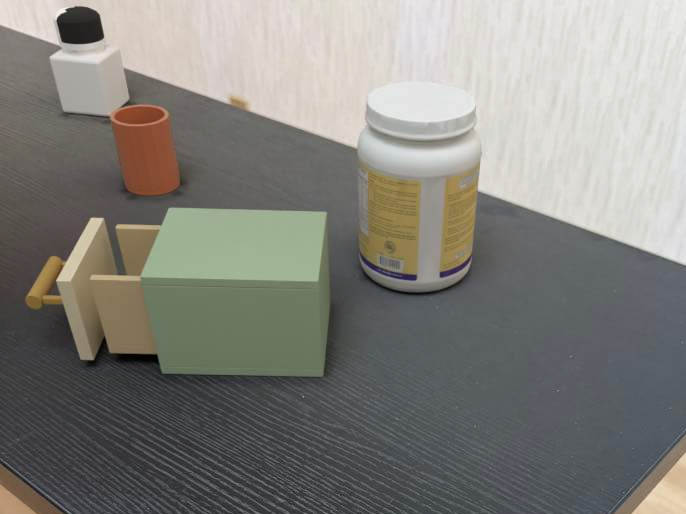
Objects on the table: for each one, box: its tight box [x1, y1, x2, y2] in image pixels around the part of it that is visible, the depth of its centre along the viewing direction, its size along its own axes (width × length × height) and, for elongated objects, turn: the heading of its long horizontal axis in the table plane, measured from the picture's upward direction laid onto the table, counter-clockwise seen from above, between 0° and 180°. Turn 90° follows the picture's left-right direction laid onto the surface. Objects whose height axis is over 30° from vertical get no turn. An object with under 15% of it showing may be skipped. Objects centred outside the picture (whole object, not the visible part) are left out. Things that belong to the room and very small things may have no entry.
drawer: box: [24, 217, 162, 361], centre depth 74 cm, size 18×11×8 cm, turn 91°
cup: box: [109, 104, 181, 197], centre depth 96 cm, size 7×7×8 cm
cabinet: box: [140, 207, 331, 378], centre depth 74 cm, size 15×13×10 cm
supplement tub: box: [356, 81, 483, 293], centre depth 81 cm, size 12×12×17 cm
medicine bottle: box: [49, 5, 130, 118], centre depth 112 cm, size 7×7×12 cm
